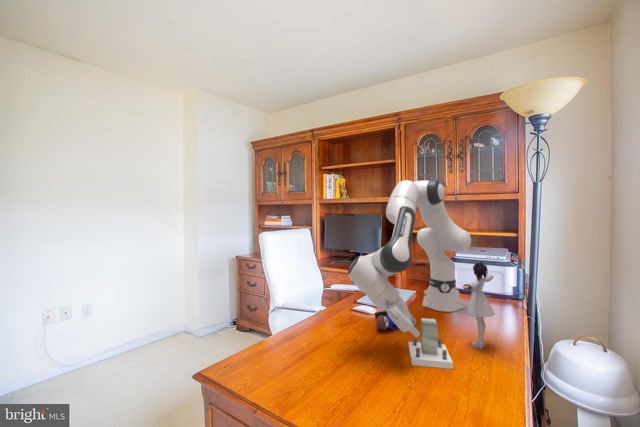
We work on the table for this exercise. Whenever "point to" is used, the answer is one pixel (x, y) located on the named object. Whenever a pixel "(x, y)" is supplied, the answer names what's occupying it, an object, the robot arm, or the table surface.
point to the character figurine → (384, 321)
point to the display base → (430, 356)
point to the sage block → (429, 336)
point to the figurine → (479, 301)
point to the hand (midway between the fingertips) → (416, 328)
